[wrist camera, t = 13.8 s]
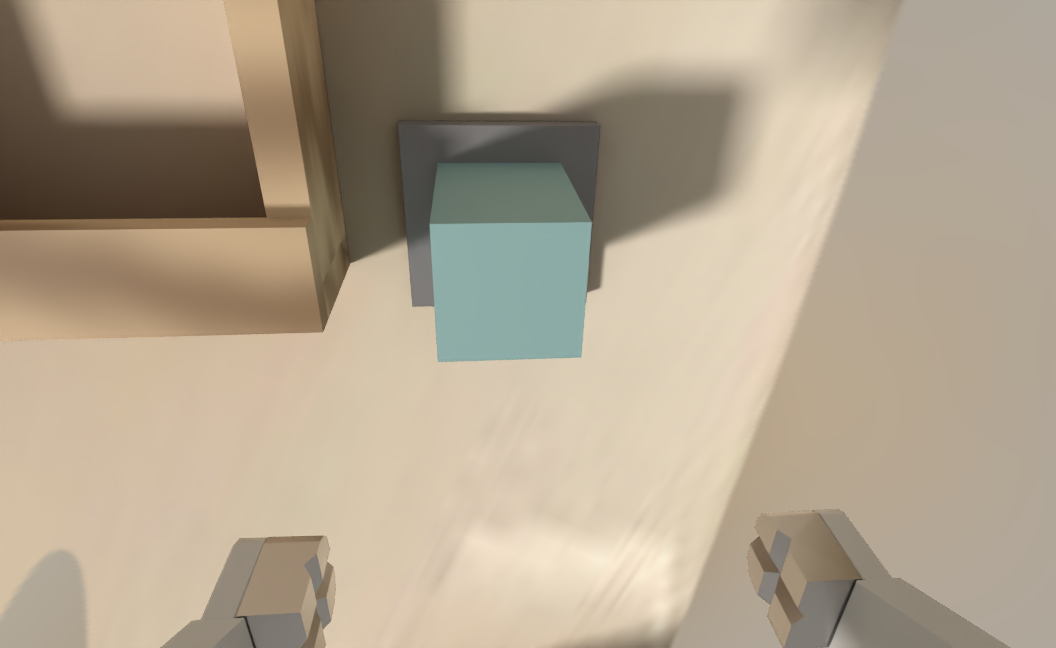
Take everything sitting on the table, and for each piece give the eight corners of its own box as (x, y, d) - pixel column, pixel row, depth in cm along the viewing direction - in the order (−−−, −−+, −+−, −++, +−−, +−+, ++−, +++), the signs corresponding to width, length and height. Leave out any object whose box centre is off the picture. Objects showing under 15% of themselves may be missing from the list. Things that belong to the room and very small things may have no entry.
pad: (583, 294, 29) (586, 302, 28) (413, 298, 28) (412, 306, 28) (596, 121, 25) (600, 126, 24) (399, 121, 24) (397, 125, 24)
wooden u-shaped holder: (349, 264, 27) (322, 332, 22) (-38, 270, 26) (-165, 345, 20) (300, -104, 20) (245, -132, 15) (-227, -124, 19) (-487, -162, 14)
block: (554, 273, 27) (581, 357, 21) (443, 275, 27) (437, 362, 21) (560, 162, 25) (591, 222, 19) (437, 162, 24) (429, 223, 18)
